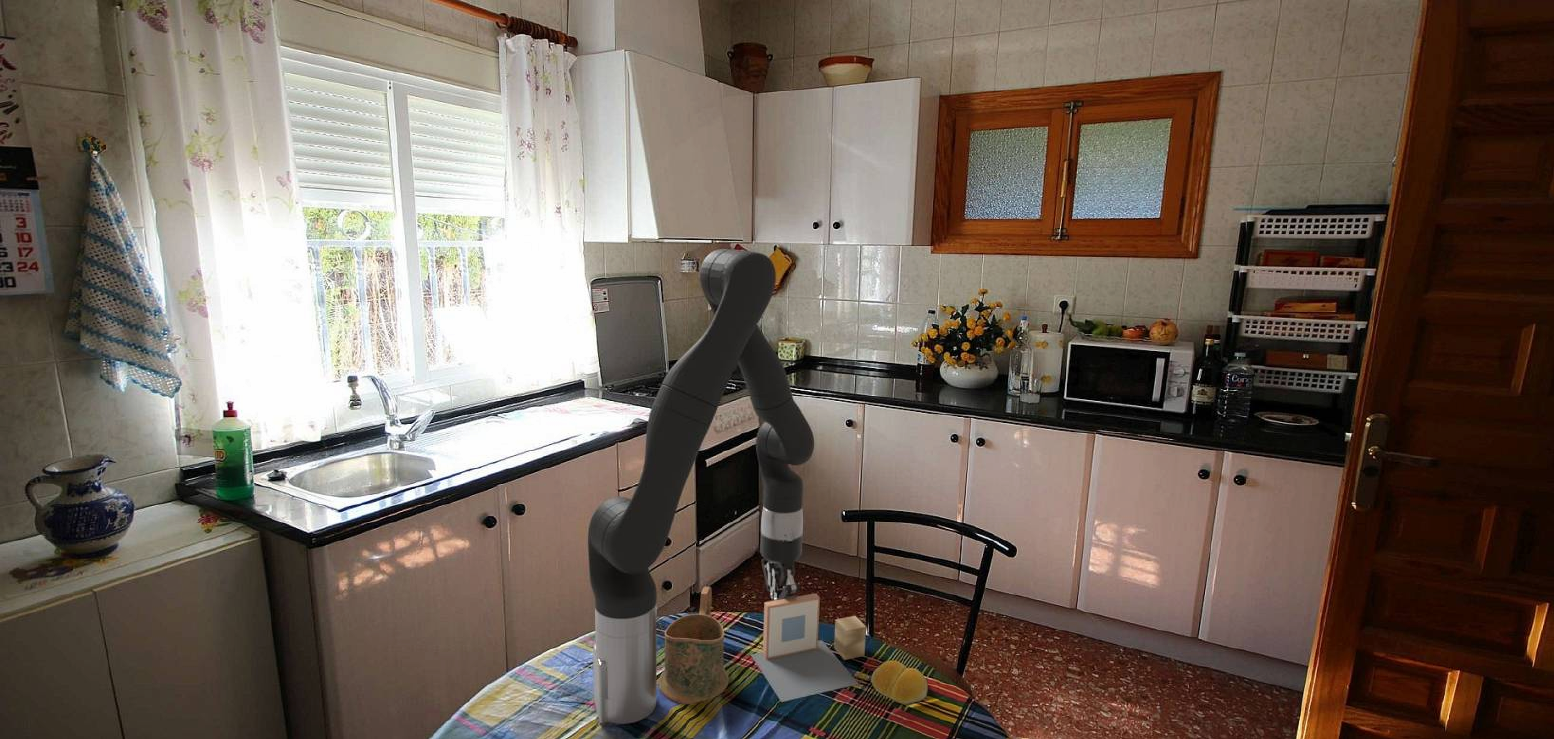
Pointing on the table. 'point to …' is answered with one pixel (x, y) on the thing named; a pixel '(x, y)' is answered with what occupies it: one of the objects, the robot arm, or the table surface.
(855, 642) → the block
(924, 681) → the bread roll
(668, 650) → the mug
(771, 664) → the mat
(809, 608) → the tile
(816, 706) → the table surface
